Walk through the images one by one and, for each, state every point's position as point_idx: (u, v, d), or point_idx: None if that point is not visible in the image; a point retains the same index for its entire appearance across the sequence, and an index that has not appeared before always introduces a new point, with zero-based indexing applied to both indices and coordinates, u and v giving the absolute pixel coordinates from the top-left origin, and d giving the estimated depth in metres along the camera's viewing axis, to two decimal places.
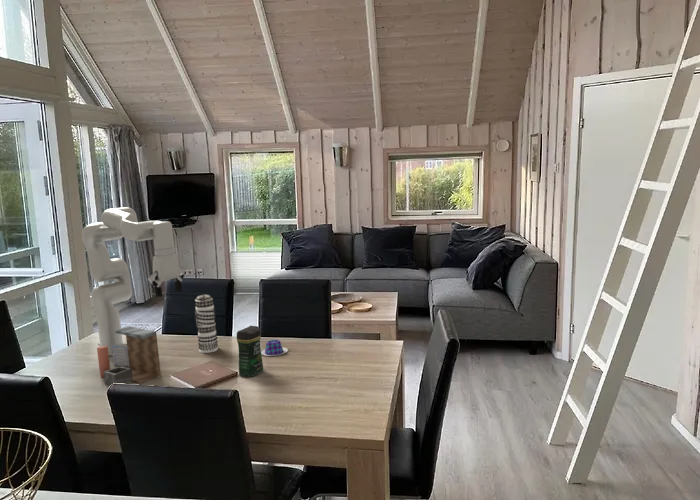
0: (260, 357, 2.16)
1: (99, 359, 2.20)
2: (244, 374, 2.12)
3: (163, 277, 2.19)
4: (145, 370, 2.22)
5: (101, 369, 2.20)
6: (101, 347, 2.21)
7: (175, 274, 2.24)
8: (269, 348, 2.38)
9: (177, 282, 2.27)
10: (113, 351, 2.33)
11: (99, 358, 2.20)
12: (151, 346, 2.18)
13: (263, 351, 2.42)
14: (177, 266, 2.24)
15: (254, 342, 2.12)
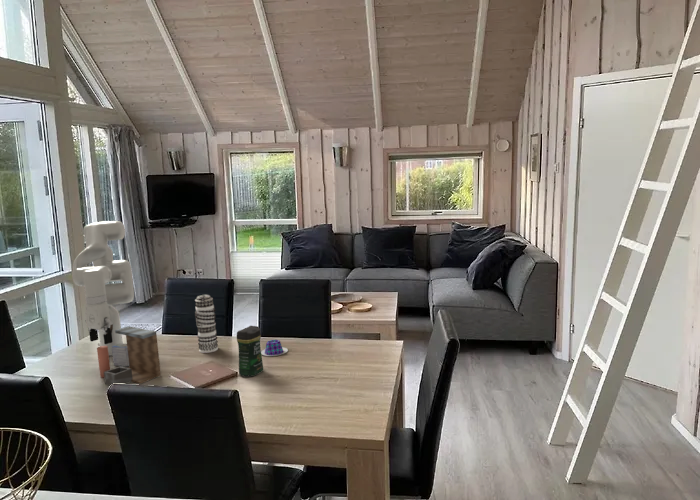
0: (260, 357, 2.16)
1: (99, 359, 2.20)
2: (244, 374, 2.12)
3: None
4: (145, 370, 2.22)
5: (101, 369, 2.20)
6: (101, 347, 2.21)
7: None
8: (269, 348, 2.38)
9: (94, 331, 2.22)
10: (113, 351, 2.33)
11: (99, 358, 2.20)
12: (151, 346, 2.18)
13: (263, 351, 2.42)
14: None
15: (254, 342, 2.12)
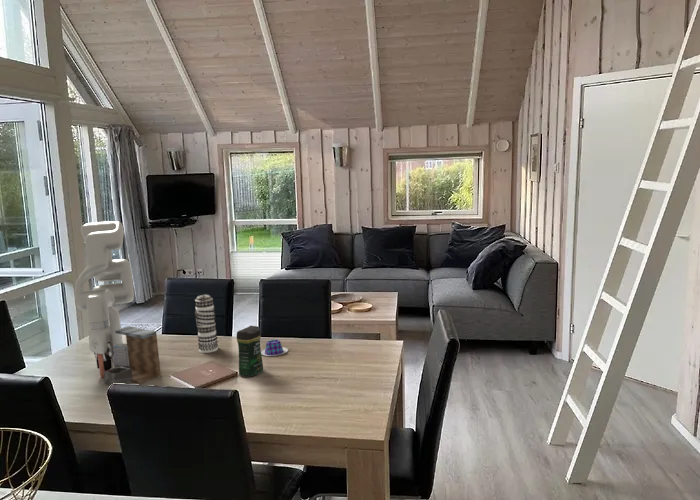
0: (260, 357, 2.16)
1: (99, 359, 2.20)
2: (244, 374, 2.12)
3: None
4: (145, 370, 2.22)
5: (101, 369, 2.20)
6: None
7: None
8: (269, 348, 2.38)
9: None
10: None
11: (99, 358, 2.20)
12: (151, 346, 2.18)
13: (263, 351, 2.42)
14: None
15: (254, 342, 2.12)
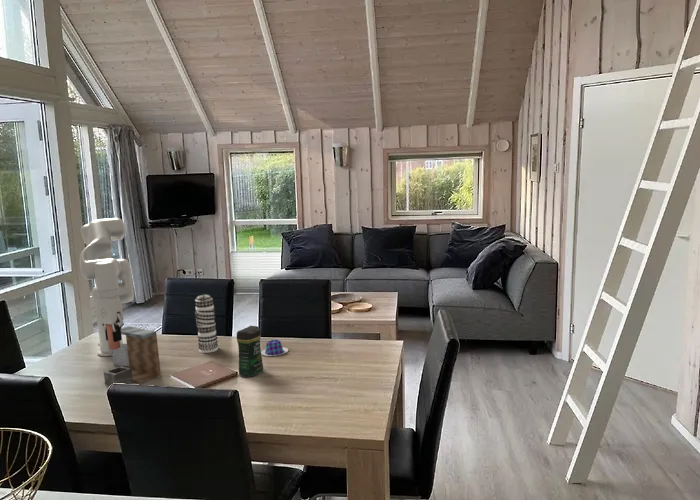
0: (260, 357, 2.16)
1: (108, 330, 2.09)
2: (244, 374, 2.12)
3: None
4: (145, 370, 2.22)
5: (110, 340, 2.10)
6: None
7: None
8: (270, 348, 2.38)
9: None
10: (113, 351, 2.33)
11: (108, 329, 2.09)
12: (151, 346, 2.18)
13: (263, 351, 2.42)
14: None
15: (254, 342, 2.12)
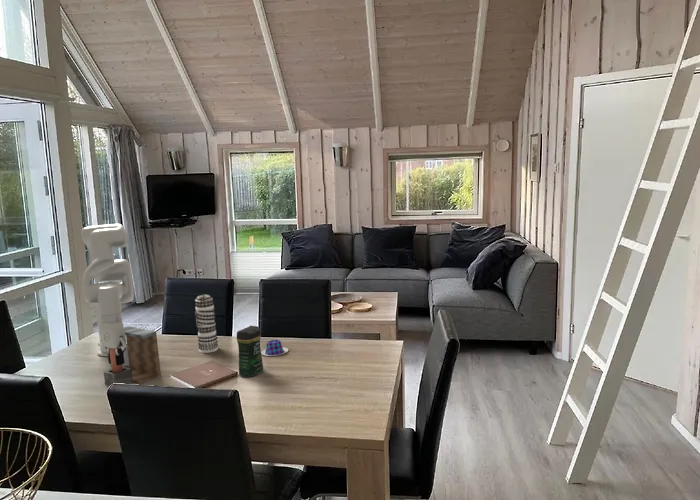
0: (260, 357, 2.16)
1: (111, 354, 2.11)
2: (244, 374, 2.12)
3: None
4: (145, 370, 2.22)
5: (113, 364, 2.11)
6: None
7: None
8: (270, 348, 2.38)
9: None
10: None
11: (111, 352, 2.11)
12: (151, 346, 2.18)
13: (263, 351, 2.41)
14: None
15: (254, 342, 2.12)
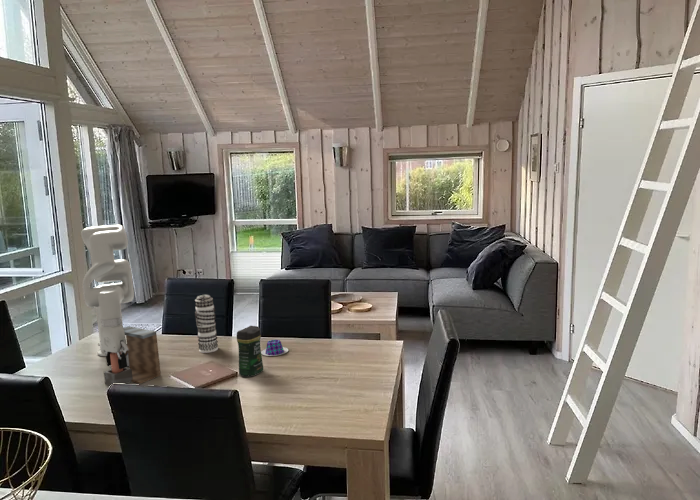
0: (260, 357, 2.16)
1: (112, 365, 2.11)
2: (244, 374, 2.12)
3: None
4: (145, 370, 2.22)
5: None
6: (114, 353, 2.12)
7: None
8: (270, 348, 2.38)
9: None
10: None
11: (112, 364, 2.11)
12: (151, 346, 2.18)
13: (263, 352, 2.41)
14: None
15: (254, 342, 2.12)
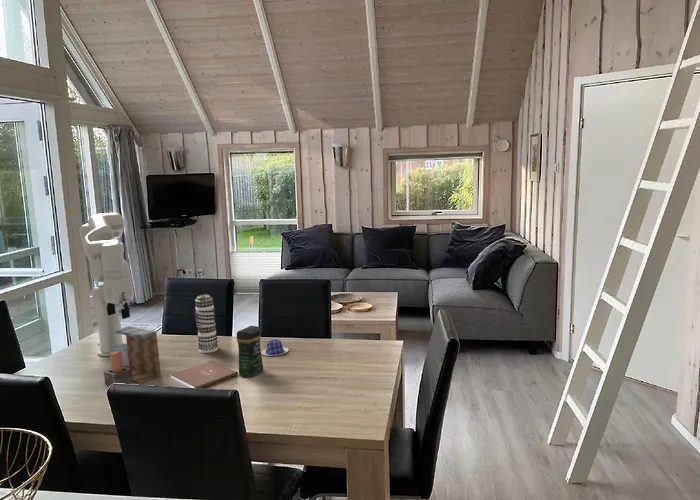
0: (260, 357, 2.16)
1: (112, 365, 2.11)
2: (244, 374, 2.12)
3: None
4: (145, 370, 2.22)
5: None
6: (114, 353, 2.12)
7: None
8: (271, 348, 2.38)
9: (111, 305, 2.21)
10: (113, 351, 2.33)
11: (112, 364, 2.11)
12: (151, 346, 2.18)
13: (263, 352, 2.41)
14: None
15: (254, 342, 2.12)
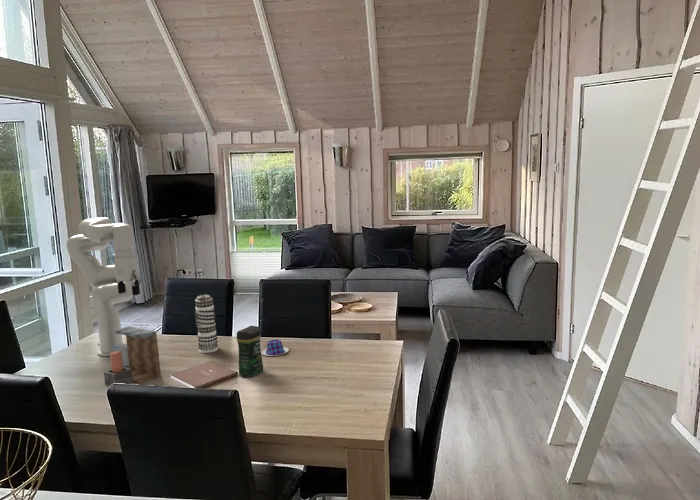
0: (260, 357, 2.16)
1: (112, 365, 2.11)
2: (244, 374, 2.12)
3: None
4: (145, 370, 2.22)
5: None
6: (114, 353, 2.12)
7: None
8: (271, 348, 2.38)
9: (122, 284, 2.35)
10: (113, 351, 2.33)
11: (112, 364, 2.11)
12: (151, 346, 2.18)
13: (263, 352, 2.41)
14: None
15: (254, 342, 2.12)
